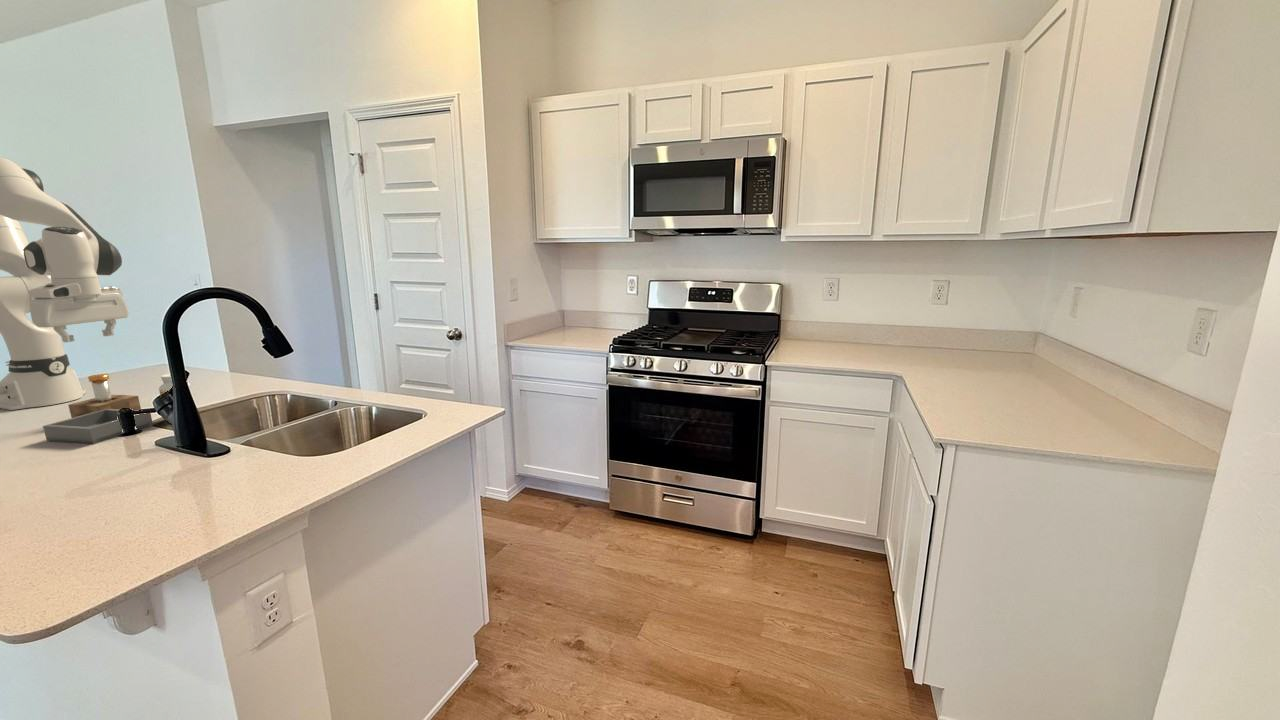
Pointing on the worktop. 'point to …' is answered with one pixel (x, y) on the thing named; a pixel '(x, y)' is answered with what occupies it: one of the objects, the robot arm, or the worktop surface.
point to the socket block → (104, 405)
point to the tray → (92, 427)
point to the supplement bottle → (167, 384)
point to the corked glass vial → (101, 387)
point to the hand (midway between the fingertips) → (89, 338)
